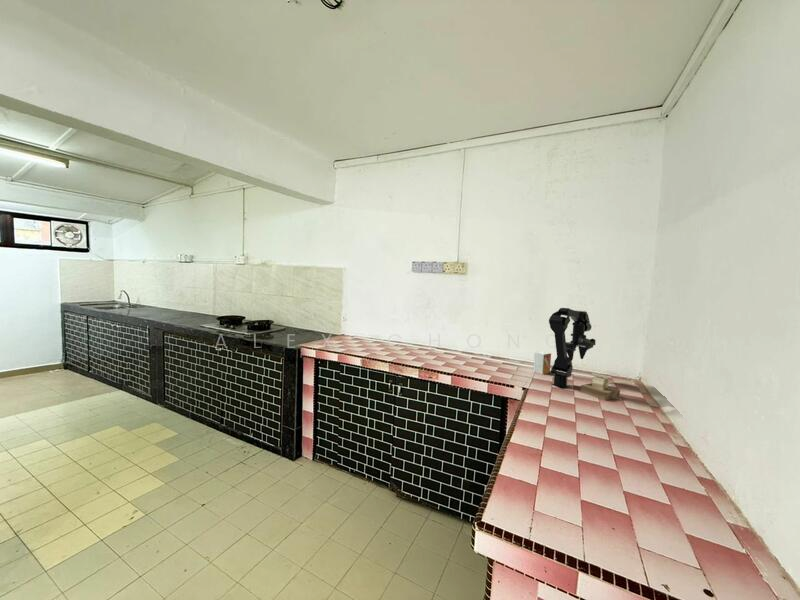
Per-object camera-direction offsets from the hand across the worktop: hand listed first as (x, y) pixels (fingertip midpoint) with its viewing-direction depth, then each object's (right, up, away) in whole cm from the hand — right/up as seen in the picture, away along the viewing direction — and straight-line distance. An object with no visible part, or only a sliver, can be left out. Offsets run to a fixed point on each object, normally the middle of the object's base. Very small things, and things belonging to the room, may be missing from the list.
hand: (576, 359), depth 174 cm
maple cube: (-1, -10, -22) cm, 24 cm away
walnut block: (-1, -14, -21) cm, 26 cm away
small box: (-15, -11, +12) cm, 22 cm away
